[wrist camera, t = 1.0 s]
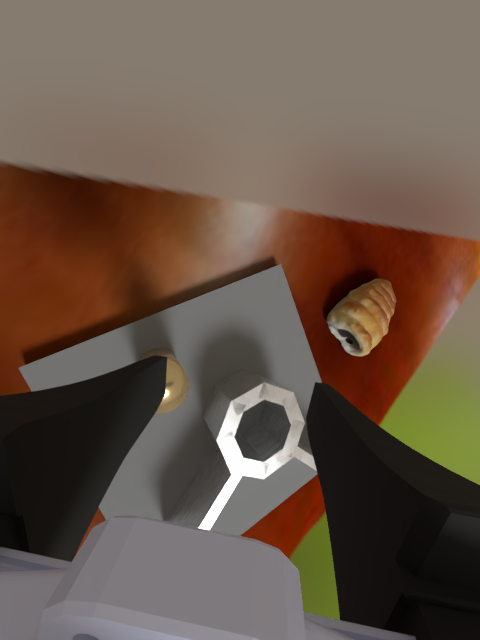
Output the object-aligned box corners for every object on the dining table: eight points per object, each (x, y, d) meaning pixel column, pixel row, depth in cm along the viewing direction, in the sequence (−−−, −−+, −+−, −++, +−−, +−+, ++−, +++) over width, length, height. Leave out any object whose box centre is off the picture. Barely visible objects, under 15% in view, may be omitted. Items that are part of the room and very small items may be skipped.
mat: (154, 590, 21) (154, 603, 20) (25, 365, 17) (18, 368, 16) (338, 447, 28) (345, 451, 27) (275, 265, 24) (280, 263, 23)
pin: (147, 391, 19) (148, 423, 14) (131, 358, 19) (125, 377, 13) (182, 374, 20) (196, 397, 15) (168, 341, 20) (176, 353, 14)
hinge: (185, 563, 21) (195, 626, 17) (117, 435, 19) (109, 471, 14) (321, 458, 26) (355, 486, 22) (280, 348, 24) (309, 355, 19)
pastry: (365, 266, 29) (395, 259, 25) (390, 307, 31) (422, 307, 27) (317, 319, 27) (344, 320, 23) (348, 360, 29) (377, 367, 25)
